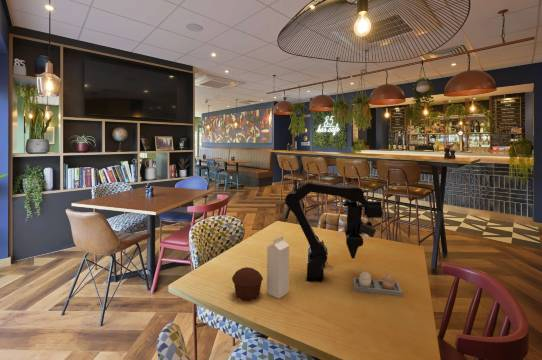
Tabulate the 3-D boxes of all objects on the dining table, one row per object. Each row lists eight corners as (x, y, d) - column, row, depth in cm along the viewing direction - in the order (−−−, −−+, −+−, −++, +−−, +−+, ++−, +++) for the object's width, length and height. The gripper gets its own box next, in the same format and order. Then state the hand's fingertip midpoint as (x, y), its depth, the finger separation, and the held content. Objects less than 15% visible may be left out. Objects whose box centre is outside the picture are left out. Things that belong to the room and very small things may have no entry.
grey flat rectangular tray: (354, 291, 113) (354, 287, 113) (353, 281, 121) (353, 277, 120) (401, 297, 109) (402, 292, 109) (397, 286, 117) (397, 282, 117)
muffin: (267, 291, 113) (268, 267, 111) (254, 306, 103) (254, 279, 101) (241, 284, 118) (241, 261, 116) (226, 298, 108) (225, 272, 106)
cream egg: (359, 289, 114) (360, 274, 113) (358, 283, 118) (359, 269, 117) (371, 290, 113) (372, 275, 112) (369, 284, 117) (370, 270, 117)
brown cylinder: (383, 291, 112) (384, 276, 111) (381, 286, 116) (382, 271, 115) (395, 293, 111) (396, 278, 110) (392, 287, 116) (394, 272, 115)
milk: (288, 292, 112) (290, 237, 109) (278, 299, 107) (280, 242, 104) (276, 287, 116) (277, 234, 113) (266, 293, 111) (267, 238, 108)
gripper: (378, 225, 107) (376, 265, 109) (372, 212, 125) (370, 247, 127) (347, 222, 109) (345, 262, 111) (345, 210, 127) (343, 245, 129)
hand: (352, 253), depth 119 cm, fingers open, 9 cm apart
